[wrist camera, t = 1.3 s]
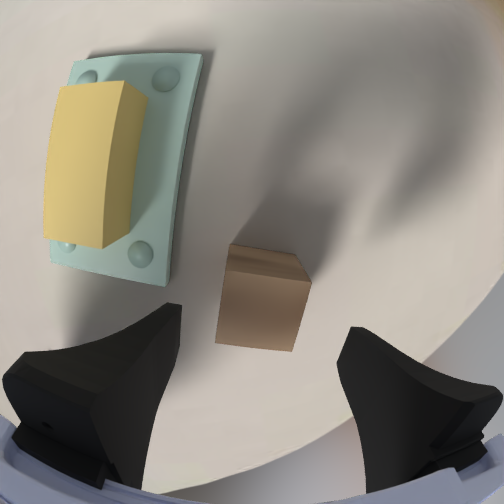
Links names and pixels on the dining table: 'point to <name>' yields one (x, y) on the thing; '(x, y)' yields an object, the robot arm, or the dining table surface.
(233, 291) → the walnut block
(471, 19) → the dining table surface
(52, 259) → the plate
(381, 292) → the dining table surface
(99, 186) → the ochre brick
